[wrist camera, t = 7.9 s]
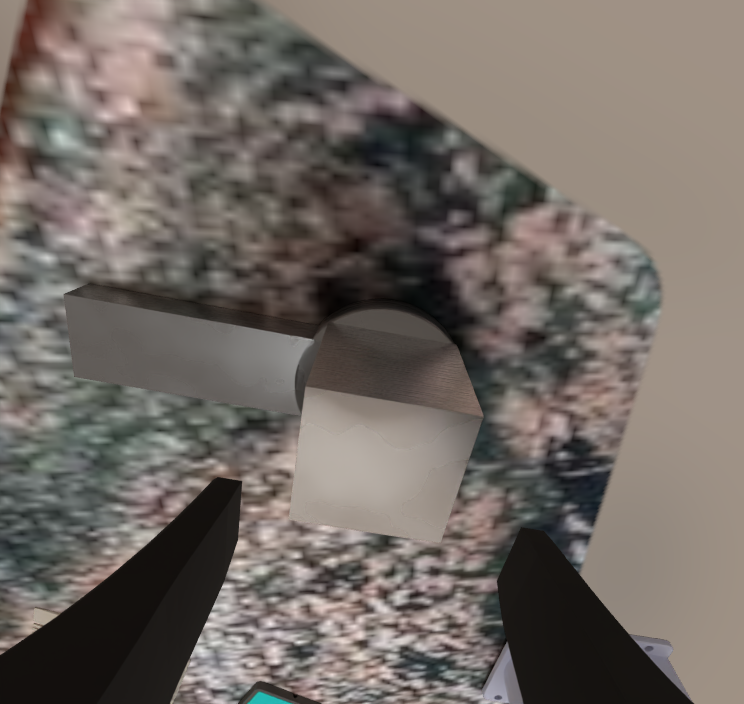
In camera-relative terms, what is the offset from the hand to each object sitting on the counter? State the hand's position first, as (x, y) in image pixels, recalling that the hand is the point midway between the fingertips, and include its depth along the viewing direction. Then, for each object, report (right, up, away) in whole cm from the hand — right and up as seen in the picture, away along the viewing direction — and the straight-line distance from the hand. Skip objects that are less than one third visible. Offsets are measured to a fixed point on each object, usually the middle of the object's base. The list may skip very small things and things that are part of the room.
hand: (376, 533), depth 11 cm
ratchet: (-4, +4, +8) cm, 9 cm away
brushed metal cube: (0, +3, +6) cm, 7 cm away
